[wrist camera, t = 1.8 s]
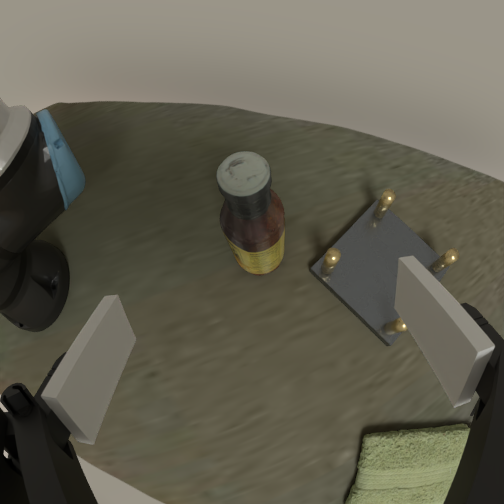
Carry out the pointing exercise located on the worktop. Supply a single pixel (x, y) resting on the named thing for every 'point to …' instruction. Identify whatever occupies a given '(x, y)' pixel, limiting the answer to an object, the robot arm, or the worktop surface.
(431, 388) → the worktop surface
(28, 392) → the robot arm
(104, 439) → the worktop surface
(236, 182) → the sauce bottle
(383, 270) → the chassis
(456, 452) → the washcloth
